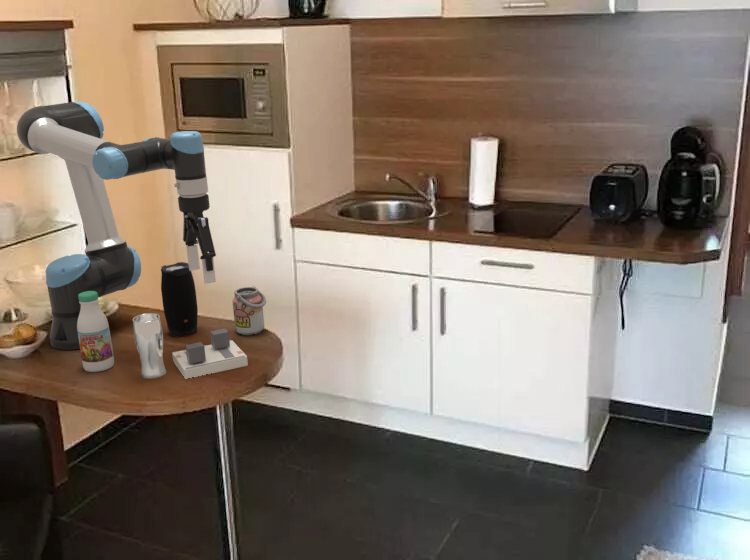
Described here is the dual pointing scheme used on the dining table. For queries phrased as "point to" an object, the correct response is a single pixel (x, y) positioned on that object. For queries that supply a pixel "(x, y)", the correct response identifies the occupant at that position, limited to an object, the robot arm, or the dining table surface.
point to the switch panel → (211, 361)
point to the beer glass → (149, 344)
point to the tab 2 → (220, 338)
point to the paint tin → (248, 310)
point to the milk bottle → (94, 334)
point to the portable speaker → (179, 299)
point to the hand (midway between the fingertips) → (202, 276)
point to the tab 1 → (195, 352)
